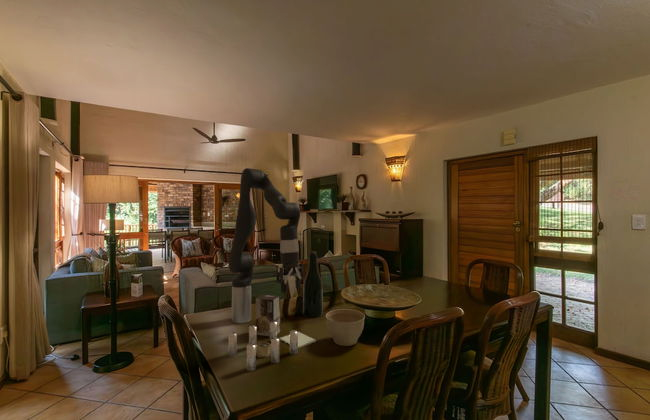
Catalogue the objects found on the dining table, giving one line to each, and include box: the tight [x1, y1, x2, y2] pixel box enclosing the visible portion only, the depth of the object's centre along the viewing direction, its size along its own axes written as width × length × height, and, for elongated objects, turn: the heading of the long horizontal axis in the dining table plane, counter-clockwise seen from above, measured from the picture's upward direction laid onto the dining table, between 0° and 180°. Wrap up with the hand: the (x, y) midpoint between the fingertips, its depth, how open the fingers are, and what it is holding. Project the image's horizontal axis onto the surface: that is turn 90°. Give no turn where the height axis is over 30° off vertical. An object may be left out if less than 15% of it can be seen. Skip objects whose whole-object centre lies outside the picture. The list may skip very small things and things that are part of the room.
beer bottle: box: [302, 251, 324, 318], centre depth 161 cm, size 10×10×33 cm
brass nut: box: [256, 341, 271, 358], centre depth 116 cm, size 6×5×4 cm
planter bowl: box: [325, 308, 366, 347], centre depth 127 cm, size 16×16×11 cm
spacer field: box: [228, 321, 299, 372], centre depth 116 cm, size 19×21×8 cm
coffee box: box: [255, 294, 281, 337], centre depth 136 cm, size 9×6×16 cm
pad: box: [279, 331, 317, 349], centre depth 128 cm, size 12×10×1 cm
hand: (291, 290), depth 125 cm, fingers open, 8 cm apart
